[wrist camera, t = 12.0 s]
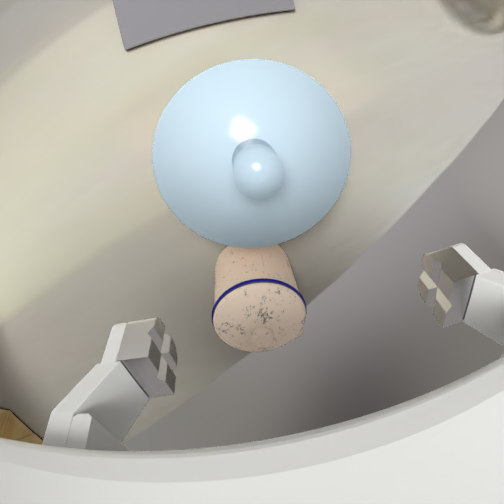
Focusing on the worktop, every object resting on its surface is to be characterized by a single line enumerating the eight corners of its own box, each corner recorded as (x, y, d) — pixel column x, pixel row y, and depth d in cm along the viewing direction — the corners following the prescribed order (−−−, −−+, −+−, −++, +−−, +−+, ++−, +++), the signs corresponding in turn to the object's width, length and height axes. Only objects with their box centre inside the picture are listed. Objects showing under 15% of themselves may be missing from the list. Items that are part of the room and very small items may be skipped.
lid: (188, 259, 28) (182, 295, 24) (130, 91, 20) (108, 96, 16) (354, 220, 27) (376, 249, 23) (329, 46, 19) (355, 40, 15)
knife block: (-12, 385, 49) (-49, 493, 23) (63, 454, 68) (49, 541, 42) (-35, 382, 49) (-71, 478, 23) (37, 450, 68) (21, 530, 42)
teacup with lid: (196, 268, 37) (190, 343, 27) (254, 217, 34) (268, 283, 24) (265, 320, 42) (277, 392, 32) (319, 280, 39) (348, 349, 29)
